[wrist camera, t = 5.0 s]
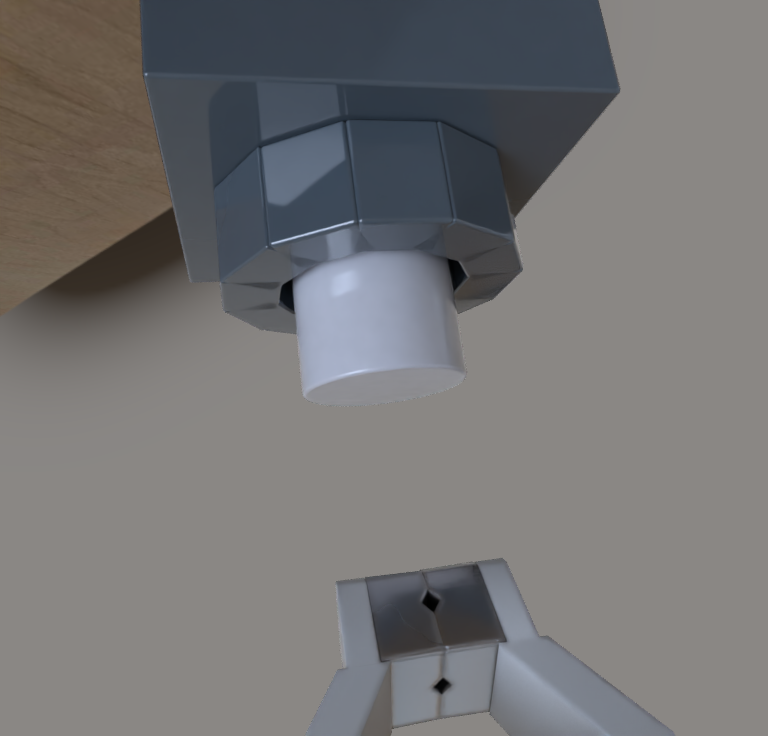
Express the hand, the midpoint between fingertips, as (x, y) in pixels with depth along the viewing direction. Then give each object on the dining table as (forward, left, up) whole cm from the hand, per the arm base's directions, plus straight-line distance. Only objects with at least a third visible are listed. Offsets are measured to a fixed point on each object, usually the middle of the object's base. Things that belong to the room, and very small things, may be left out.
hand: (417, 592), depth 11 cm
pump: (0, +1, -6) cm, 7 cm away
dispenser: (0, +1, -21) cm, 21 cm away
